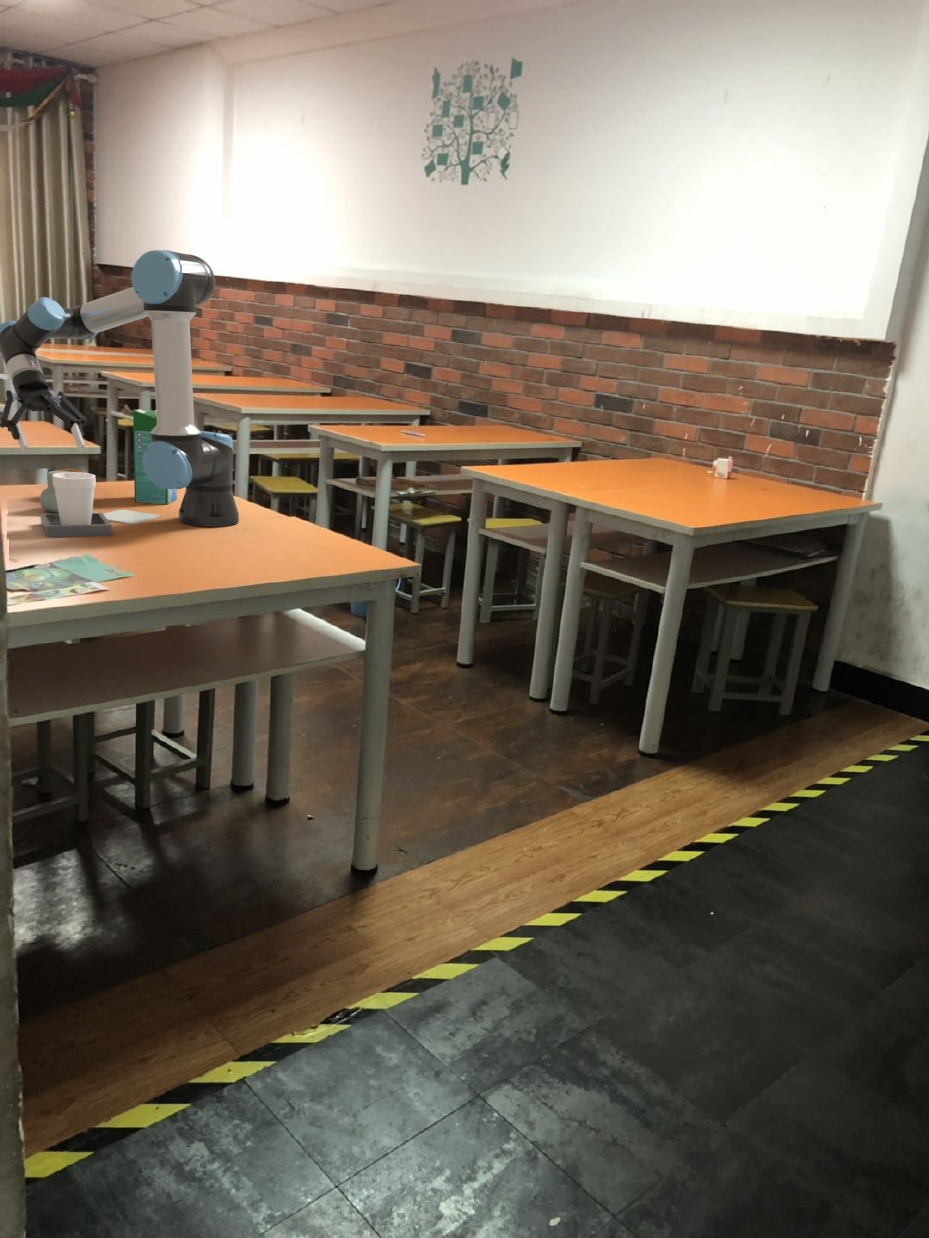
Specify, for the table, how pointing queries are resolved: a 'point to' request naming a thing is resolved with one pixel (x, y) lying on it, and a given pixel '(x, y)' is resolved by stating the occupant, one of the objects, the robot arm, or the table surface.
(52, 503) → the air freshener
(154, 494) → the milk carton
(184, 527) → the table surface
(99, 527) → the grey square frame
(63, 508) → the foam cup
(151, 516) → the pad
